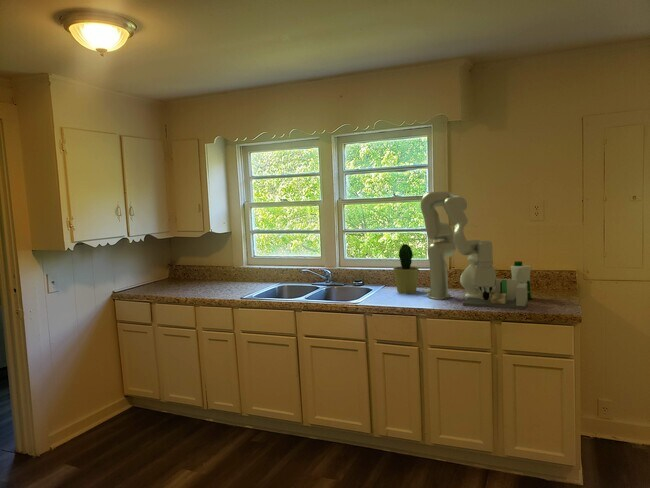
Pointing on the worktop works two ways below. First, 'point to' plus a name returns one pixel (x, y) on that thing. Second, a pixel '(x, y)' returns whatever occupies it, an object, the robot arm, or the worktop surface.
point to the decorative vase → (470, 278)
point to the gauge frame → (509, 286)
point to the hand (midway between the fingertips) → (486, 299)
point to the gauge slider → (498, 296)
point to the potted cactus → (406, 272)
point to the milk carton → (522, 275)
